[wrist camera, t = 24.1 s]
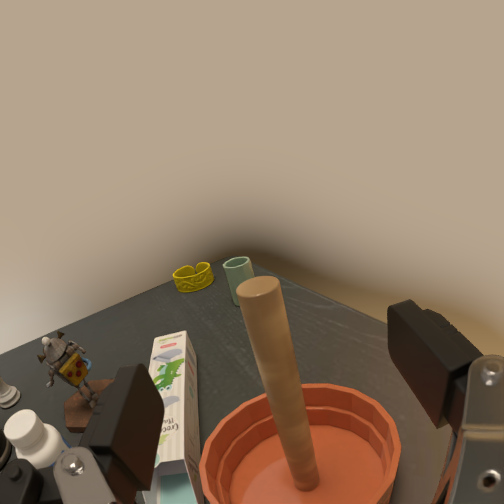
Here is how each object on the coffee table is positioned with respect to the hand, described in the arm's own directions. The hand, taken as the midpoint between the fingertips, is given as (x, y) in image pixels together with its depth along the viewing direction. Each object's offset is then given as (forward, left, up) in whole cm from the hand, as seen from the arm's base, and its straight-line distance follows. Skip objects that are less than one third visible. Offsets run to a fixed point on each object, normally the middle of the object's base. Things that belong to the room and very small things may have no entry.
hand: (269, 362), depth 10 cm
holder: (+4, +41, -18) cm, 45 cm away
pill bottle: (-21, +10, -18) cm, 30 cm away
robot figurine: (-20, +23, -18) cm, 36 cm away
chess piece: (-39, +28, -18) cm, 52 cm away
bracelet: (-4, +55, -18) cm, 58 cm away
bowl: (+1, +5, -18) cm, 19 cm away
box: (-9, +15, -18) cm, 26 cm away
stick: (+1, +5, -18) cm, 18 cm away
